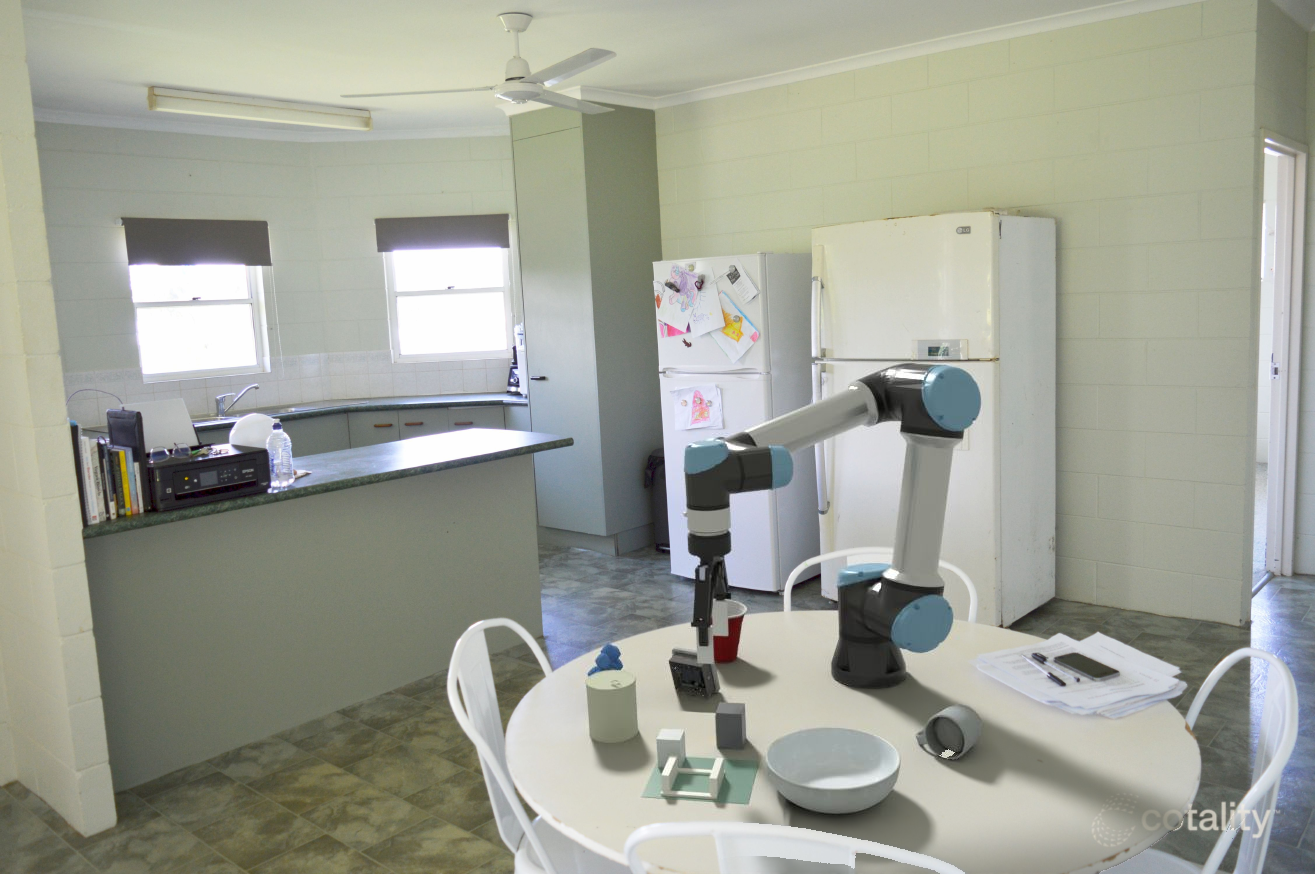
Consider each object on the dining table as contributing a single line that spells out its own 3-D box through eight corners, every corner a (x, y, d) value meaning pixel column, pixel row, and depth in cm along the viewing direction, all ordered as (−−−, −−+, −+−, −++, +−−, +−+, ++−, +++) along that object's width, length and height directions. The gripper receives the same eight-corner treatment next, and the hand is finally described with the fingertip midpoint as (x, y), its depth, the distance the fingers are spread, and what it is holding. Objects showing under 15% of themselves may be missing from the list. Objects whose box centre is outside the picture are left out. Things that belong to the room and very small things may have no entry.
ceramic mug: (985, 746, 167) (985, 703, 166) (966, 765, 161) (965, 721, 160) (927, 732, 174) (926, 691, 173) (907, 749, 167) (905, 707, 166)
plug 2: (746, 745, 172) (744, 703, 170) (743, 757, 167) (741, 714, 166) (719, 744, 173) (718, 701, 171) (715, 756, 168) (713, 712, 167)
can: (601, 755, 171) (597, 691, 169) (581, 736, 179) (577, 674, 177) (648, 742, 175) (644, 679, 173) (626, 723, 183) (622, 663, 181)
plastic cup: (735, 671, 206) (732, 616, 204) (691, 663, 211) (688, 610, 210) (757, 653, 215) (755, 601, 213) (714, 646, 220) (712, 595, 219)
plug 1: (685, 757, 165) (684, 729, 164) (681, 768, 161) (679, 740, 161) (663, 755, 166) (661, 728, 165) (657, 766, 162) (656, 738, 162)
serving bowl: (785, 757, 167) (784, 719, 166) (910, 774, 159) (909, 734, 158) (750, 818, 148) (748, 776, 147) (889, 842, 140) (888, 797, 139)
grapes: (600, 690, 199) (596, 634, 197) (631, 693, 197) (627, 636, 195) (577, 714, 188) (573, 655, 186) (609, 717, 186) (606, 657, 184)
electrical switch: (721, 692, 195) (717, 649, 193) (708, 704, 191) (704, 660, 189) (681, 684, 200) (677, 642, 198) (668, 695, 196) (663, 653, 194)
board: (759, 769, 163) (758, 743, 162) (748, 812, 149) (747, 785, 149) (660, 763, 167) (659, 738, 166) (641, 805, 153) (640, 778, 152)
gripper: (702, 514, 180) (706, 623, 183) (670, 548, 156) (676, 674, 159) (742, 514, 178) (746, 625, 181) (716, 549, 154) (721, 676, 157)
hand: (713, 648), depth 170 cm, fingers open, 13 cm apart
